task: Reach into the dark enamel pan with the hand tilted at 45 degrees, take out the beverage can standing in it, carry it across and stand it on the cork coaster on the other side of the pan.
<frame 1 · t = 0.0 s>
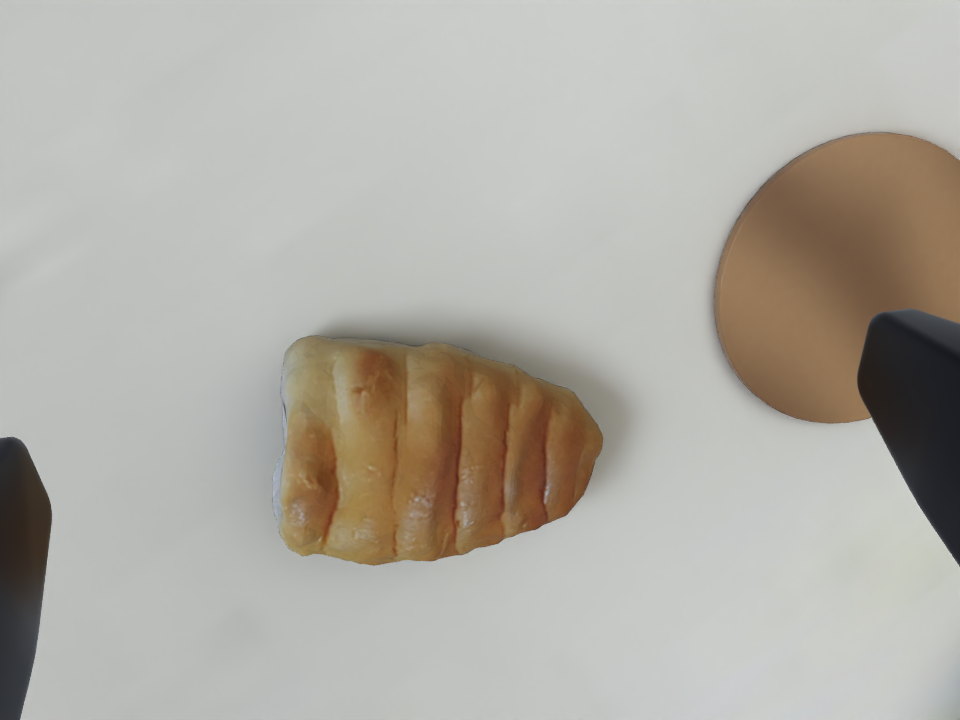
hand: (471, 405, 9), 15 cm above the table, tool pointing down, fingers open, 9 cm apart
coaster: (853, 283, 27), on the table
pastry: (411, 425, 26), on the table
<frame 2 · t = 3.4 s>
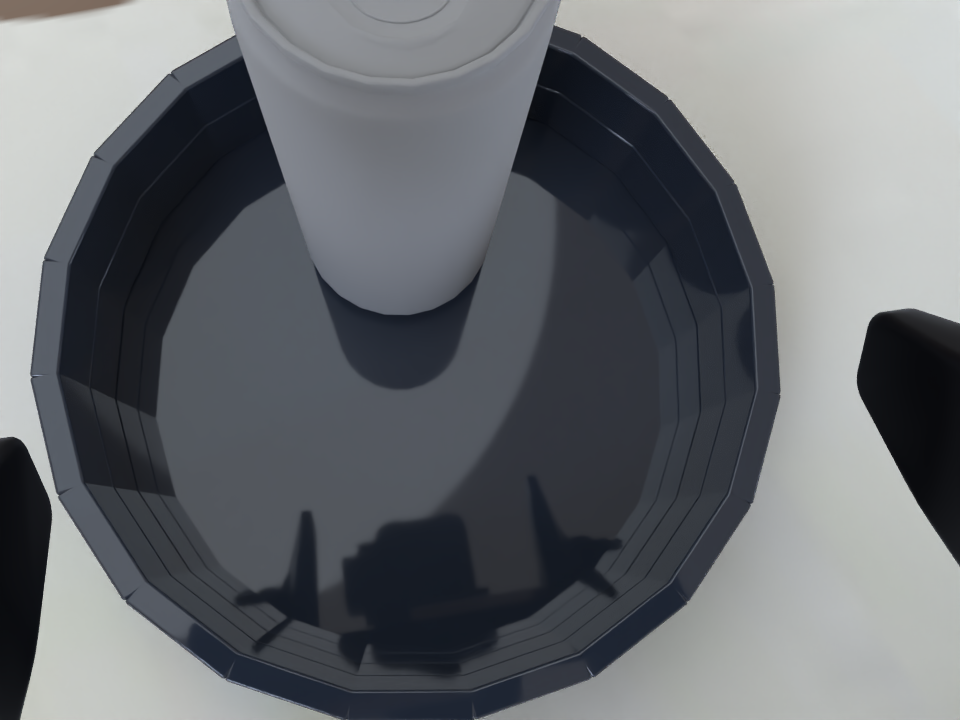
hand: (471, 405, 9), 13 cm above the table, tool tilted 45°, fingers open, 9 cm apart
pan: (417, 363, 23), on the table
beverage can: (398, 236, 23), resting on pan
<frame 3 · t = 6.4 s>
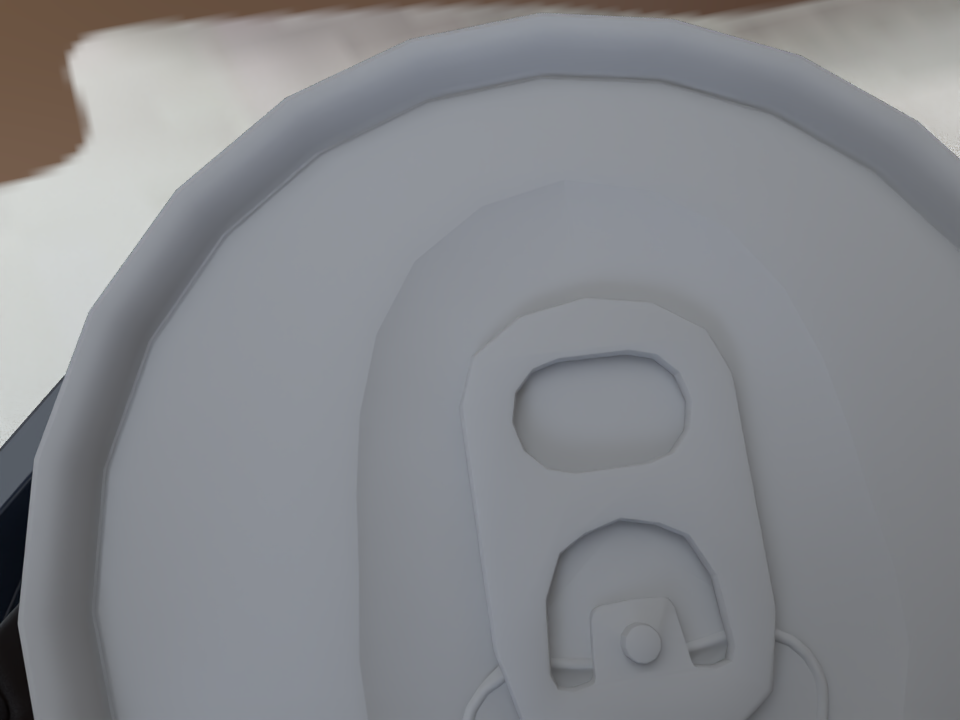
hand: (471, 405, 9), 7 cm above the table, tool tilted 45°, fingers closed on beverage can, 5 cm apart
beverage can: (454, 538, 15), resting on pan, touching gripper
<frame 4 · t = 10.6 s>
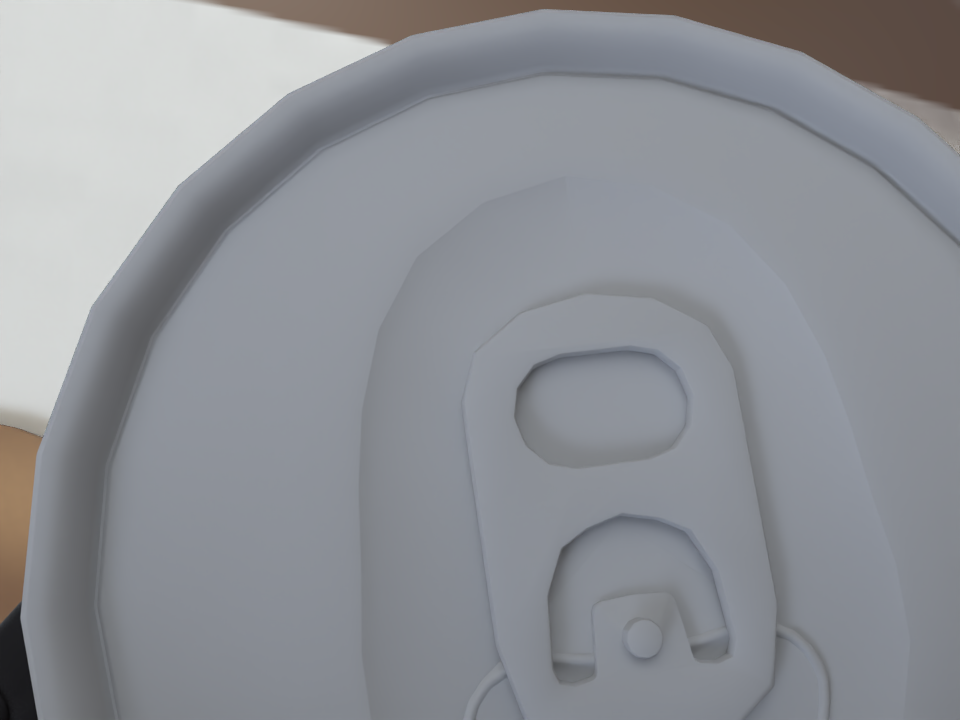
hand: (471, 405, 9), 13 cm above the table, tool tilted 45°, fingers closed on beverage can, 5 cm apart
beverage can: (453, 537, 15), point 7 cm above the table, touching gripper
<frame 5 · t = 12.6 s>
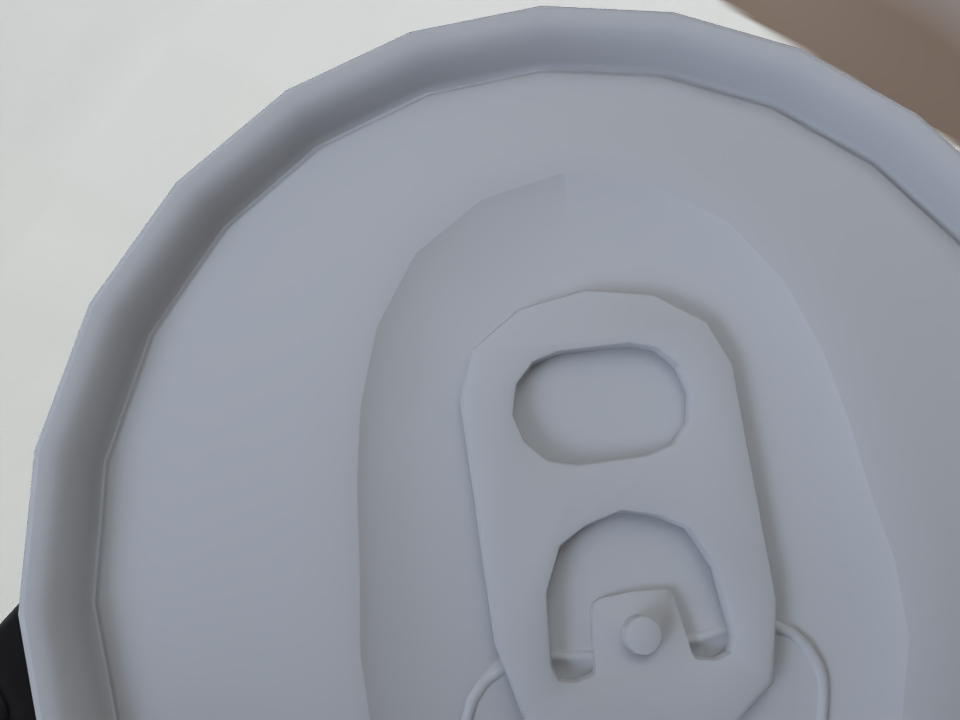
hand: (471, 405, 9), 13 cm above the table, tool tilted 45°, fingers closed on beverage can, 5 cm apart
beverage can: (453, 536, 15), point 6 cm above the table, touching gripper
when the fingers open (7 cm above the table, at t = 14.7 s): beverage can stays where it is, resting on coaster.
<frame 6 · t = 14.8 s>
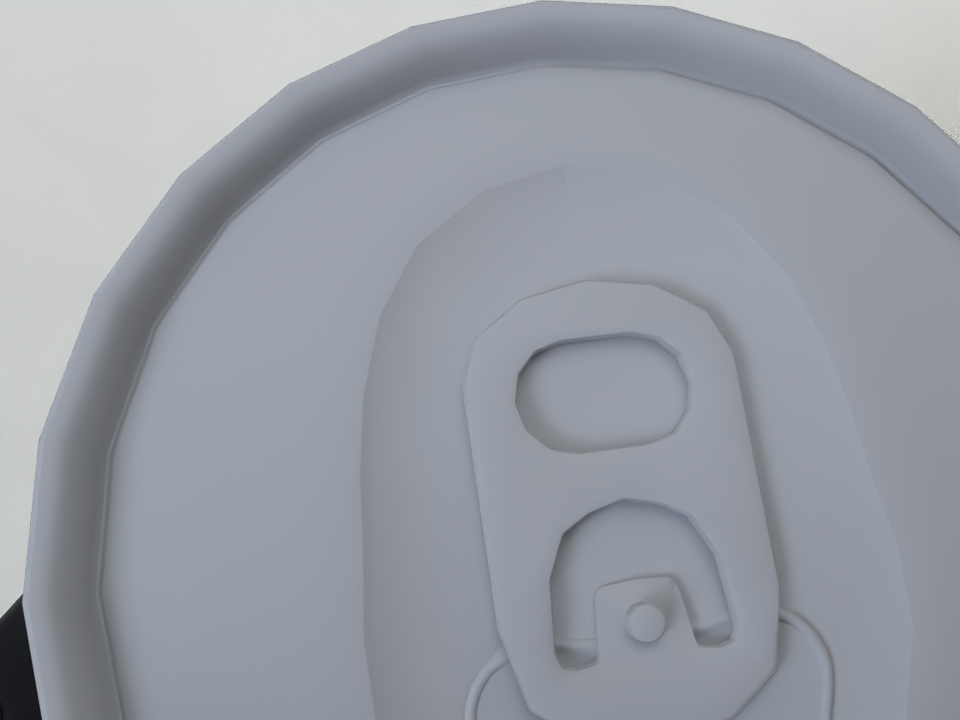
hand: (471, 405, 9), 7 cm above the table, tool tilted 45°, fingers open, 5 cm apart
beverage can: (455, 545, 15), resting on coaster
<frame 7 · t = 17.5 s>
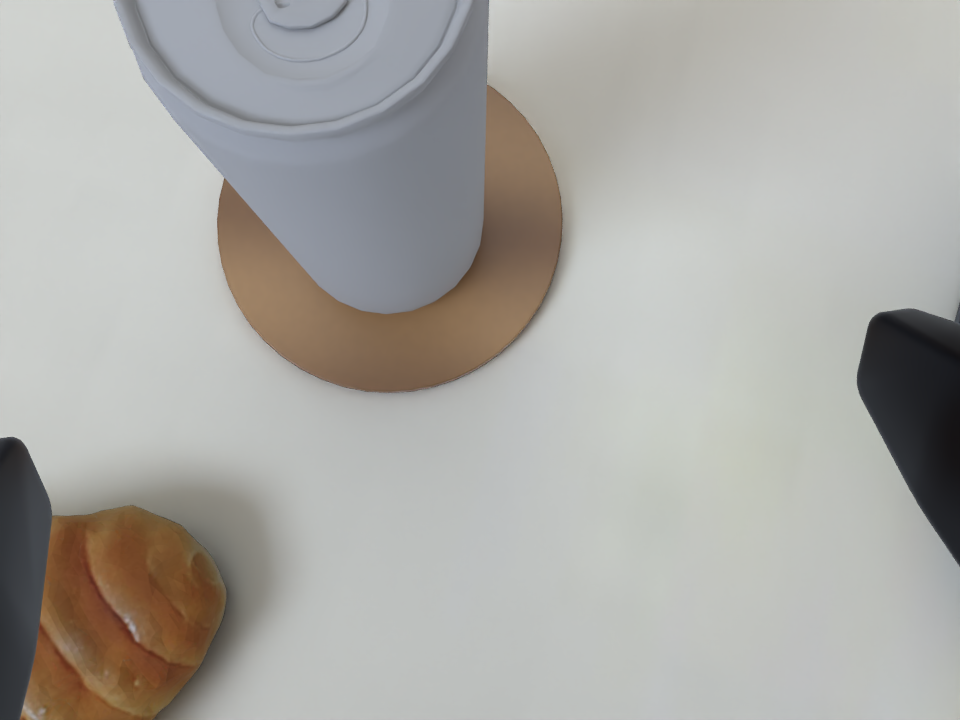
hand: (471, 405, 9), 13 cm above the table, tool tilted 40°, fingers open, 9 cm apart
beverage can: (391, 229, 23), resting on coaster
coaster: (391, 223, 23), on the table
pastry: (29, 654, 22), on the table
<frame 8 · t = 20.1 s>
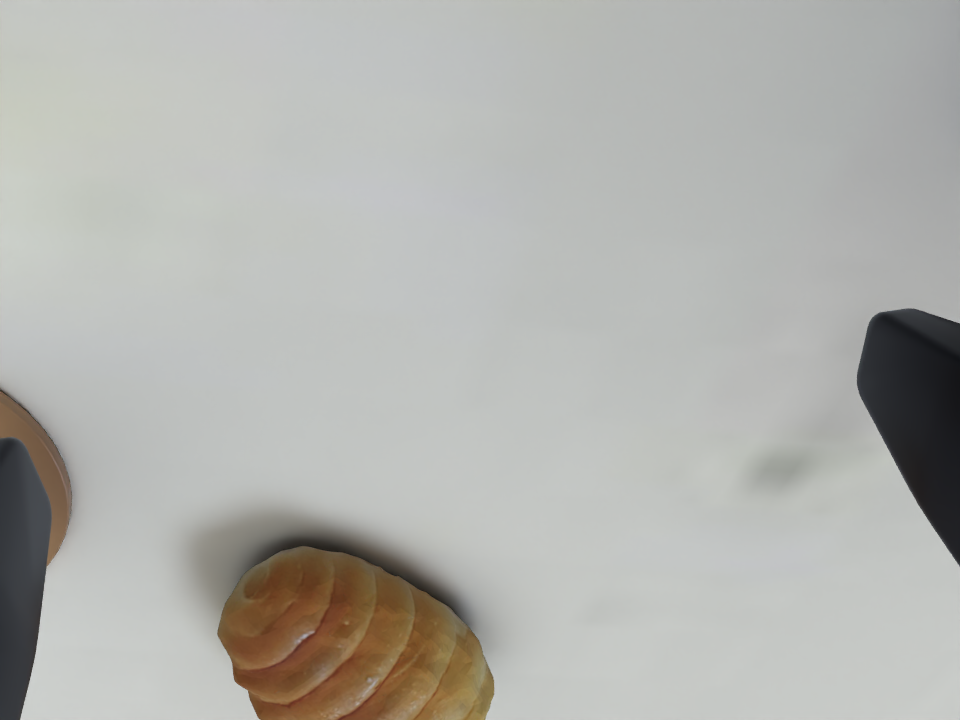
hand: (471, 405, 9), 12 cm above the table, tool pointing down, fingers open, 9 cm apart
pastry: (355, 634, 29), on the table
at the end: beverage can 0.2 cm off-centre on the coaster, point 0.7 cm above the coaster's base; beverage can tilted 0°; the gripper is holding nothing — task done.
